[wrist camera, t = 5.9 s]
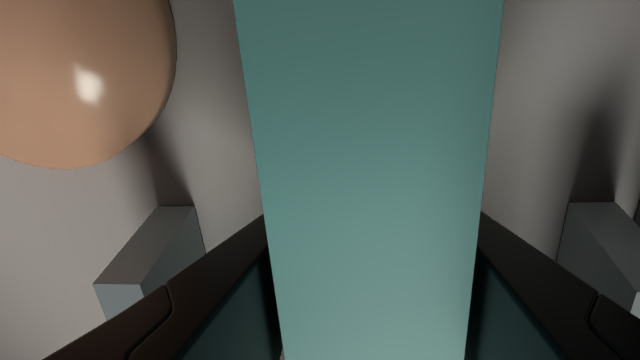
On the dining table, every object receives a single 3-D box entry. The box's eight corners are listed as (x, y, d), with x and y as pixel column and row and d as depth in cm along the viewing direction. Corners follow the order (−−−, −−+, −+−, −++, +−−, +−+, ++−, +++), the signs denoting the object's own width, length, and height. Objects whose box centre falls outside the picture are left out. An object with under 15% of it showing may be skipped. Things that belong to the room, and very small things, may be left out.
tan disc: (134, -158, 8) (111, -169, 7) (201, 151, 11) (189, 166, 10) (-154, -123, 9) (-201, -130, 8) (-23, 157, 11) (-49, 171, 11)
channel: (615, 202, 10) (702, 292, 7) (574, 357, 12) (628, 469, 10) (157, 206, 11) (92, 283, 9) (196, 345, 14) (153, 439, 11)
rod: (454, -122, 8) (524, -186, 4) (426, 367, 13) (445, 522, 9) (283, -107, 8) (210, -152, 4) (324, 363, 13) (306, 511, 10)
